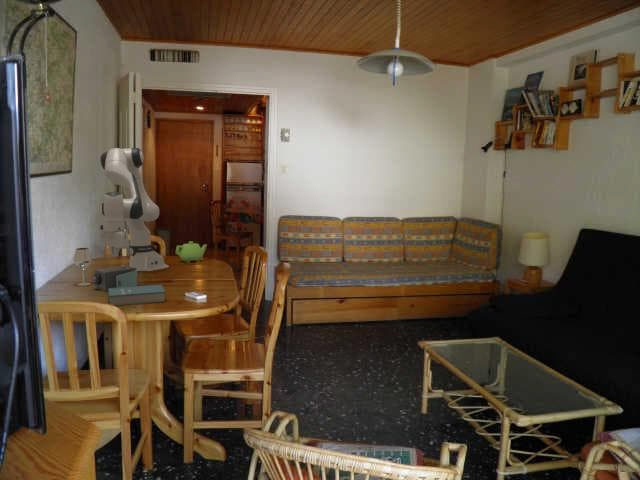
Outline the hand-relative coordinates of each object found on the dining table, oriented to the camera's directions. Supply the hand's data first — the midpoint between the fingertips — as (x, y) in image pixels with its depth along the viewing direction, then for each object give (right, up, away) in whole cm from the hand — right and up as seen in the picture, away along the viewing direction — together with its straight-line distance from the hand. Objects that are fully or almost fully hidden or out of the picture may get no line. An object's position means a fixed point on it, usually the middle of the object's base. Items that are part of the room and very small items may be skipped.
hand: (115, 256), depth 247 cm
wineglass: (-21, -15, +15) cm, 30 cm away
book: (+15, -19, -14) cm, 28 cm away
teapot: (+15, -6, +85) cm, 86 cm away
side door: (+4, -16, +5) cm, 17 cm away
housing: (-4, -15, +9) cm, 18 cm away
